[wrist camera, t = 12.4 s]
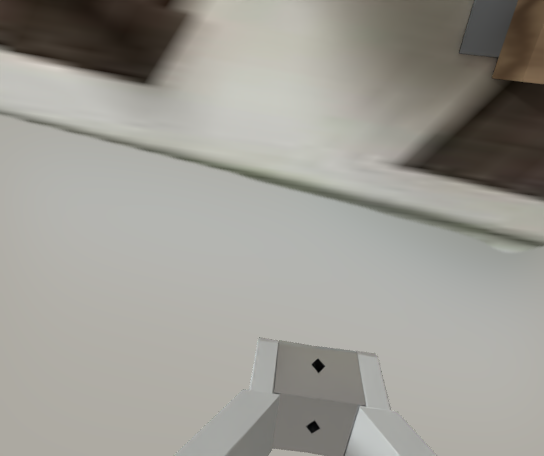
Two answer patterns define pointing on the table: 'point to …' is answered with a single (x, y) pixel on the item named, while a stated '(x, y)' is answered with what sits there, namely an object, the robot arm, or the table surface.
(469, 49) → the mat
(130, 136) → the table surface
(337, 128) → the table surface
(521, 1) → the walnut block
